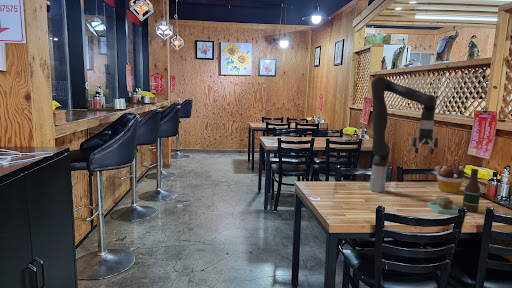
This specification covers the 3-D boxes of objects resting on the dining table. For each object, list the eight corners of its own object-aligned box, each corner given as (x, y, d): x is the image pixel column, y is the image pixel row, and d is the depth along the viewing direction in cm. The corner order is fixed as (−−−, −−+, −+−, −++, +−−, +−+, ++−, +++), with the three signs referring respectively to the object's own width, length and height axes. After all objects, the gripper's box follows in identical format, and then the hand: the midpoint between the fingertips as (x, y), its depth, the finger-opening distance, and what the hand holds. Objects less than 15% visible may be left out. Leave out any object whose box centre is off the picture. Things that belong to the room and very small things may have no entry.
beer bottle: (471, 213, 191) (477, 171, 188) (458, 209, 198) (463, 168, 195) (481, 212, 194) (486, 170, 191) (467, 207, 201) (472, 167, 198)
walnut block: (442, 209, 194) (443, 200, 193) (438, 206, 198) (439, 197, 198) (452, 209, 193) (453, 200, 192) (447, 206, 198) (448, 198, 197)
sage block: (441, 206, 203) (442, 197, 202) (435, 203, 208) (436, 195, 207) (449, 205, 204) (449, 197, 204) (442, 203, 209) (443, 195, 208)
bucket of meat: (452, 195, 225) (456, 165, 222) (428, 189, 239) (431, 161, 236) (469, 192, 235) (472, 163, 232) (445, 186, 249) (448, 158, 246)
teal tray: (437, 213, 190) (438, 210, 189) (427, 205, 203) (427, 202, 203) (464, 214, 189) (464, 211, 188) (451, 206, 202) (452, 203, 202)
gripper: (416, 128, 207) (414, 154, 210) (441, 128, 207) (438, 155, 209) (412, 126, 215) (409, 152, 217) (435, 127, 214) (433, 153, 216)
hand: (423, 154), depth 213 cm, fingers open, 8 cm apart
